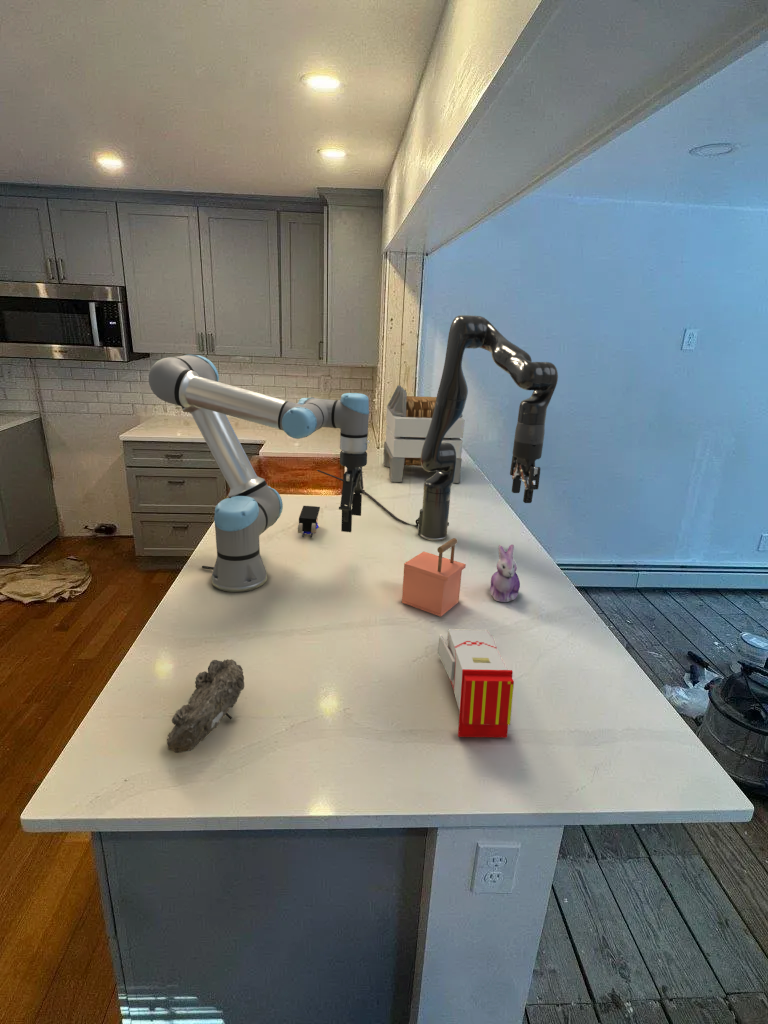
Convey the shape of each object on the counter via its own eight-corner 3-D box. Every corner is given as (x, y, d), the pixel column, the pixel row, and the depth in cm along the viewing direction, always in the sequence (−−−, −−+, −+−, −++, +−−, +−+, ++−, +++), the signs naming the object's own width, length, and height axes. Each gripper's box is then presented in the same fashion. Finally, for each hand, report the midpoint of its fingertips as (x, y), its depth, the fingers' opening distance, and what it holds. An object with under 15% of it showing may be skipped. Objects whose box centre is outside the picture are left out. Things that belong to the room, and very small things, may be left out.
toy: (488, 613, 130) (523, 677, 101) (484, 667, 133) (517, 744, 104) (435, 612, 130) (455, 676, 101) (432, 666, 133) (451, 743, 103)
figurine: (502, 606, 153) (509, 556, 148) (479, 590, 162) (485, 541, 157) (529, 600, 157) (536, 550, 152) (505, 584, 166) (512, 537, 161)
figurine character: (316, 543, 192) (320, 523, 205) (316, 523, 188) (320, 504, 202) (297, 543, 191) (302, 522, 205) (296, 523, 188) (301, 503, 202)
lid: (465, 567, 151) (468, 540, 148) (447, 581, 143) (450, 552, 140) (423, 554, 158) (425, 528, 155) (403, 566, 150) (405, 539, 147)
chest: (458, 601, 155) (462, 566, 152) (440, 616, 147) (444, 580, 144) (420, 588, 161) (423, 554, 158) (401, 602, 153) (403, 567, 150)
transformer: (382, 463, 289) (386, 382, 275) (445, 464, 293) (451, 384, 279) (390, 482, 257) (394, 392, 243) (460, 483, 261) (468, 394, 247)
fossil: (192, 660, 117) (244, 628, 112) (224, 691, 120) (276, 661, 115) (142, 746, 98) (202, 712, 93) (182, 779, 101) (242, 748, 96)
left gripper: (358, 463, 144) (355, 540, 151) (374, 442, 167) (372, 510, 174) (329, 460, 145) (328, 537, 152) (350, 440, 168) (348, 507, 175)
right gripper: (505, 433, 156) (499, 489, 161) (525, 445, 143) (517, 506, 148) (531, 433, 157) (524, 489, 163) (553, 445, 144) (544, 506, 149)
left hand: (351, 523), depth 163 cm, fingers open, 13 cm apart
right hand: (521, 497), depth 155 cm, fingers open, 8 cm apart
